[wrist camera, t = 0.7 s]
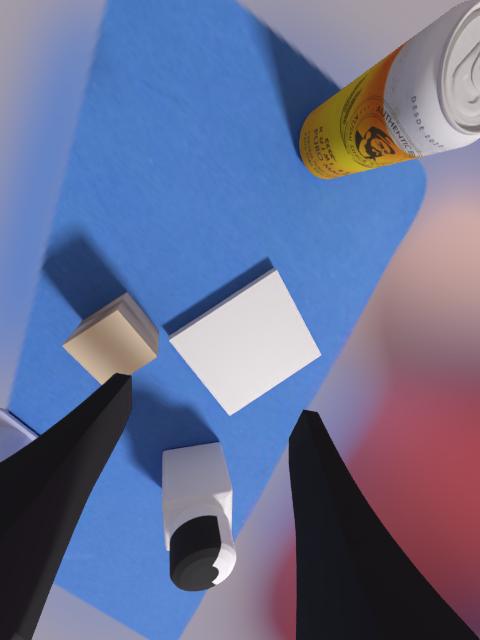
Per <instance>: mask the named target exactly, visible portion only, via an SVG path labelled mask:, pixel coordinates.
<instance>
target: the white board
mask: <svg viewBox="0 0 480 640" xmlns="http://www.w3.org/2000/svg"><path fill="white" fill-rule="evenodd" d="M169 341H170V342H171V343H172V345H173V346H174V347H175V348H176V350H177V351H178V352H179V353H180V355H181V356H182V357H183V358H184V360H185V361H186V362H187V363H188V365H189V366H190V367H191V368H192V370H193V371H194V372H195V373H196V375H197V376H198V377H199V378H200V380H201V381H202V382H203V383H204V385H205V386H206V387H207V388H208V390H209V391H210V392H211V393H212V395H213V396H214V397H215V398H216V400H217V401H218V402H219V403H220V405H221V406H222V407H223V408H224V410H225V411H226V412H227V413H228V414H229V416H230V415H232V414H233V413H235V412H236V411H238V410H239V409H241V408H242V407H244V406H246V405H247V404H249V403H250V402H252V401H253V400H255V399H256V398H258V397H259V396H261V395H262V394H264V393H265V392H267V391H268V390H270V389H271V388H273V387H274V386H276V385H277V384H279V383H280V382H282V381H283V380H285V379H286V378H288V377H289V376H291V375H292V374H294V373H295V372H297V371H298V370H300V369H301V368H303V367H304V366H306V365H307V364H309V363H310V362H312V361H313V360H315V359H316V358H318V357H319V356H321V353H320V351H319V350H318V348H317V346H316V344H315V342H314V340H313V338H312V336H311V334H310V332H309V330H308V328H307V327H306V325H305V323H304V321H303V319H302V317H301V315H300V313H299V311H298V309H297V307H296V306H295V304H294V302H293V300H292V298H291V296H290V294H289V292H288V290H287V288H286V286H285V284H284V283H283V281H282V279H281V277H280V275H279V273H278V271H277V270H276V269H274V268H272V269H271V270H269V271H268V272H266V273H265V274H263V275H261V276H260V277H258V278H257V279H255V280H254V281H252V282H251V283H249V284H248V285H246V286H245V287H243V288H242V289H240V290H238V291H237V292H235V293H234V294H232V295H231V296H229V297H228V298H226V299H225V300H223V301H222V302H220V303H219V304H217V305H215V306H214V307H212V308H211V309H209V310H208V311H206V312H205V313H203V314H202V315H200V316H199V317H197V318H196V319H194V320H192V321H191V322H189V323H188V324H186V325H185V326H183V327H182V328H180V329H179V330H177V331H176V332H174V333H173V334H171V335H169Z"/></svg>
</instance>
